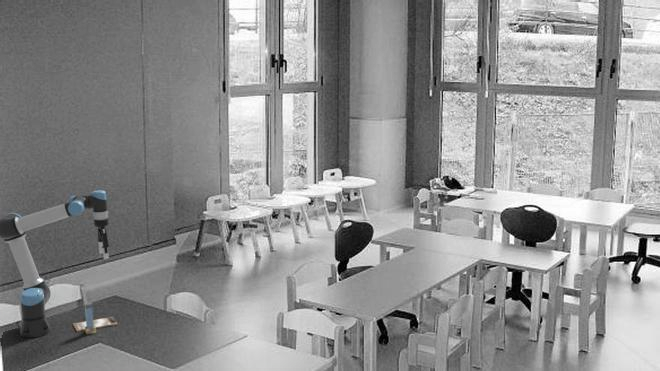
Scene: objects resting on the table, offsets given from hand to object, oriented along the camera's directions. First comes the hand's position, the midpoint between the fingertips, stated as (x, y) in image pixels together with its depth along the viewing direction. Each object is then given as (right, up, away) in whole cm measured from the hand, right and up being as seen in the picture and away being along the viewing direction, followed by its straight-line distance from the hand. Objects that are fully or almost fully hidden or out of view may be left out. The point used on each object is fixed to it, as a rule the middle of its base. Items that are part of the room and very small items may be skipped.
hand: (104, 256), depth 448 cm
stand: (-4, -40, -13) cm, 42 cm away
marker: (-4, -38, -14) cm, 41 cm away
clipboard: (-4, -38, -2) cm, 38 cm away
